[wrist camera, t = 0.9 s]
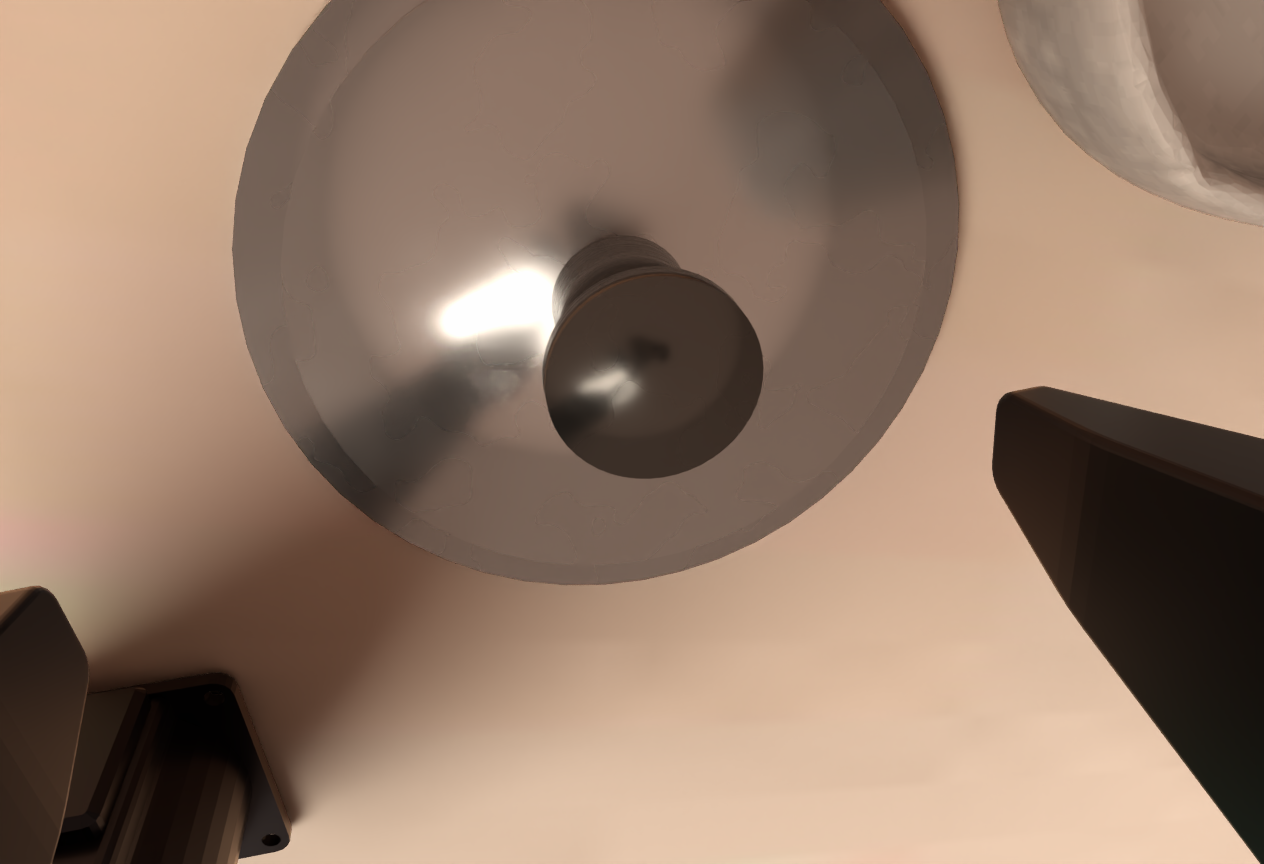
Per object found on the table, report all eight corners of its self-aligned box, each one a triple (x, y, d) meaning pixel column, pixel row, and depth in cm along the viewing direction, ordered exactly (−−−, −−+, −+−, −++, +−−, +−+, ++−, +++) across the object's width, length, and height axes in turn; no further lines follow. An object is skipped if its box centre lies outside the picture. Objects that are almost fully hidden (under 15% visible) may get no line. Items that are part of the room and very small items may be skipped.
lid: (918, 514, 27) (1018, 643, 22) (336, 612, 25) (311, 774, 20) (974, -156, 19) (1150, -177, 14) (130, -81, 17) (11, -78, 12)
